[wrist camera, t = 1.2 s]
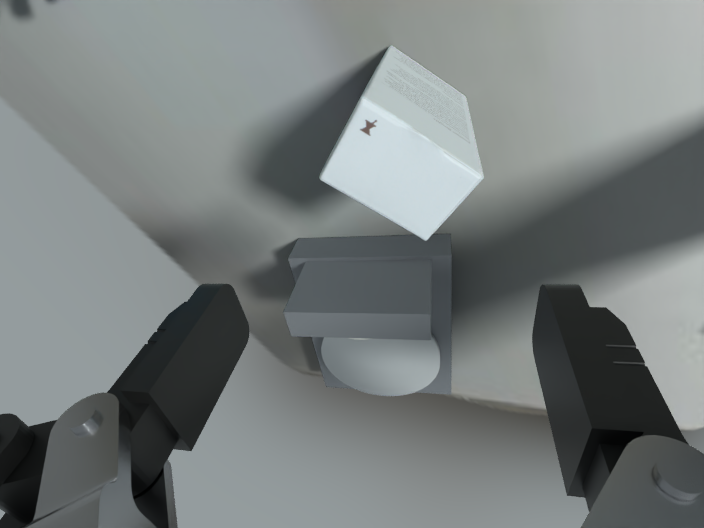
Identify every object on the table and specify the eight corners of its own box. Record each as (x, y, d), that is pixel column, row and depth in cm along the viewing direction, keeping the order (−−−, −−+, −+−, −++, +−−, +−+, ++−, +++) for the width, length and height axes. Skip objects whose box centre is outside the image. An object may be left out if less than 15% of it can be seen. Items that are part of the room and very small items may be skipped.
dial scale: (450, 233, 31) (454, 311, 24) (450, 369, 41) (453, 453, 34) (298, 238, 34) (262, 308, 27) (332, 364, 44) (312, 440, 37)
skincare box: (356, 103, 27) (312, 178, 17) (390, 42, 24) (360, 90, 15) (430, 151, 28) (426, 245, 18) (470, 97, 25) (489, 175, 16)
